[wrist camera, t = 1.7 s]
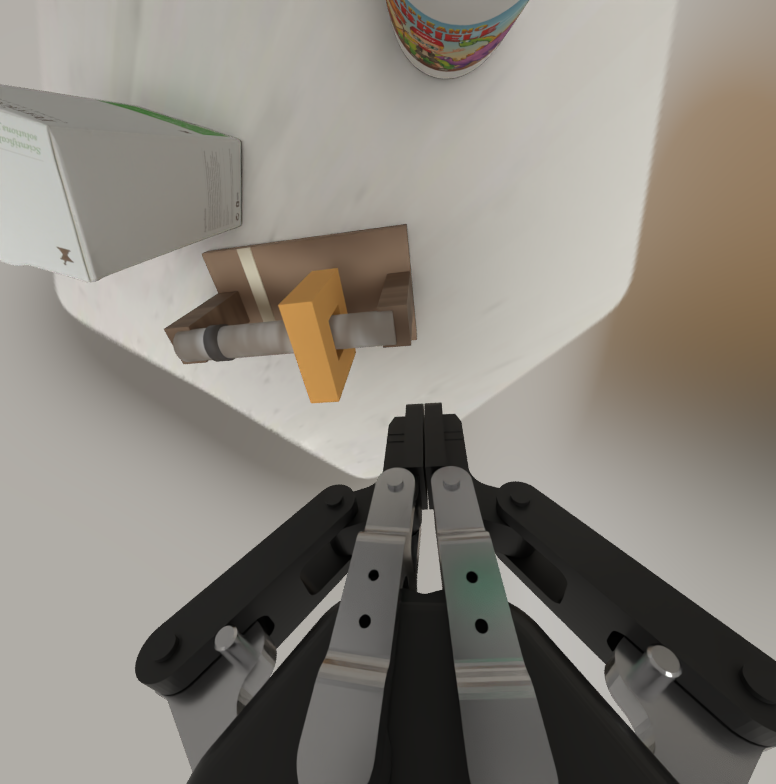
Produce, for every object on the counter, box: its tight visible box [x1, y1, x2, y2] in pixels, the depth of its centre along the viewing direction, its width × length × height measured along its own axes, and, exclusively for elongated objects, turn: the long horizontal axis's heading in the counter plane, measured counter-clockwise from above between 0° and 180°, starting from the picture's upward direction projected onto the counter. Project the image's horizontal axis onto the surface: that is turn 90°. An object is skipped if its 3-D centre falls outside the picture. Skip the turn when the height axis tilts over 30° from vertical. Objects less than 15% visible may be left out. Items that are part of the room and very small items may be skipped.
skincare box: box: [0, 84, 241, 282], centre depth 20 cm, size 8×7×16 cm
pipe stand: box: [164, 224, 417, 364], centre depth 27 cm, size 10×18×10 cm, turn 98°
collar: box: [278, 268, 356, 403], centre depth 23 cm, size 7×2×7 cm, turn 8°
